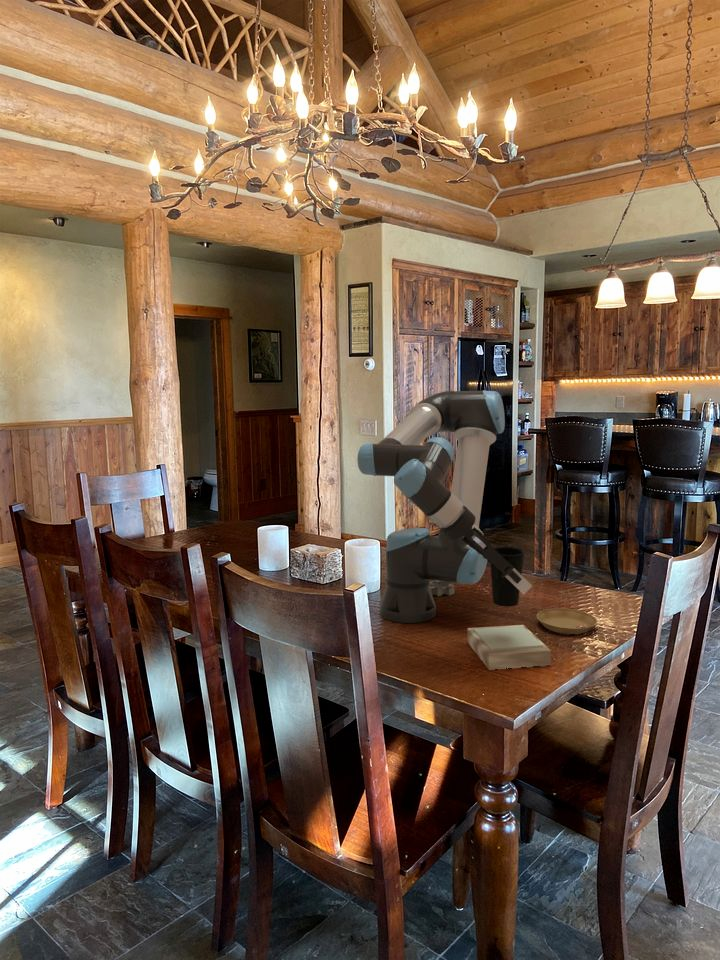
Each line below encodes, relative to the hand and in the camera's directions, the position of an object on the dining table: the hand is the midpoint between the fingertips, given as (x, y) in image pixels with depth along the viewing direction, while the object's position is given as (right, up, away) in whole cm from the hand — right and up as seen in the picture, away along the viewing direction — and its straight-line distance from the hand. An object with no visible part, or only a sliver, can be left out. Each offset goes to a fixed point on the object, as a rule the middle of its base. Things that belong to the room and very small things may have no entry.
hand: (520, 584), depth 148 cm
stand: (-3, -16, +2) cm, 17 cm away
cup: (-3, -4, 0) cm, 6 cm away
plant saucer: (+16, -14, +19) cm, 29 cm away
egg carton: (-14, -11, +48) cm, 51 cm away
